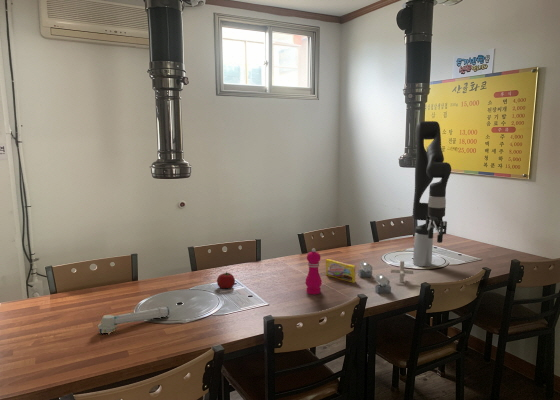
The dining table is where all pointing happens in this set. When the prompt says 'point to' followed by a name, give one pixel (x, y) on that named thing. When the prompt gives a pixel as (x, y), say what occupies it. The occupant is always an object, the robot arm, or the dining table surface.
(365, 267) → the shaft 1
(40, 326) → the dining table surface
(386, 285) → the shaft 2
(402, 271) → the pipe connector
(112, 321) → the toothbrush head
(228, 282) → the tomato
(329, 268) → the candy box
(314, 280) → the pepper mill
